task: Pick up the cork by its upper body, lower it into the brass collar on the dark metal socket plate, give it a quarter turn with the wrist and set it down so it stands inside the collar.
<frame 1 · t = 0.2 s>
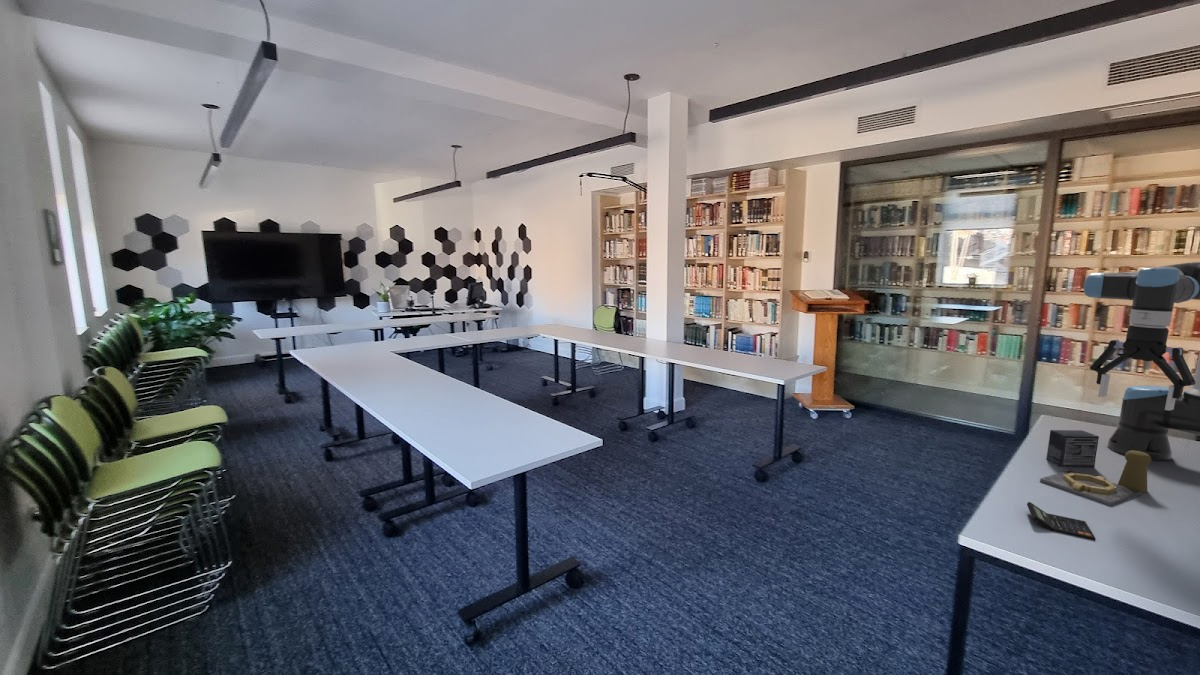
hand: (1134, 402, 140), 27 cm above the table, fingers open, 13 cm apart
socket: (1088, 488, 149), on the table
calculator: (1058, 526, 128), on the table
small box: (1069, 464, 166), on the table
cork: (1132, 488, 149), on the table
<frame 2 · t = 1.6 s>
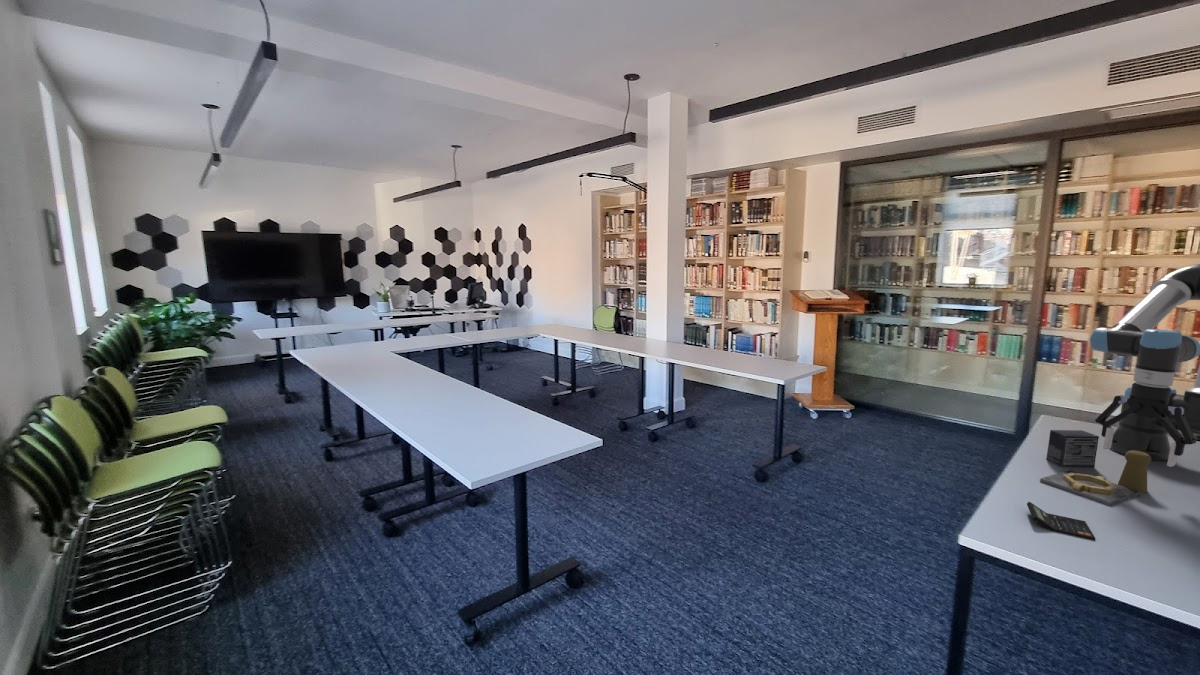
hand: (1137, 456, 147), 10 cm above the table, fingers open, 13 cm apart
nothing on the table moved.
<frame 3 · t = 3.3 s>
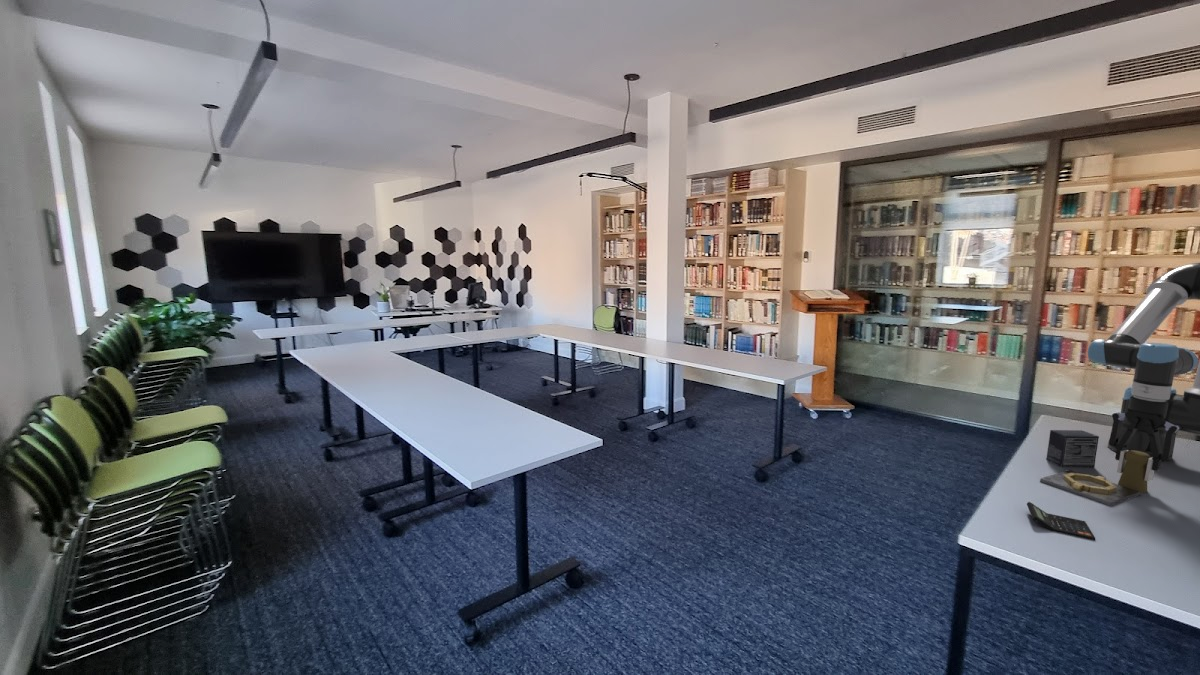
hand: (1134, 475, 148), 4 cm above the table, fingers closed on cork, 5 cm apart
cork: (1132, 488, 149), on the table, touching gripper
everything else where it was.
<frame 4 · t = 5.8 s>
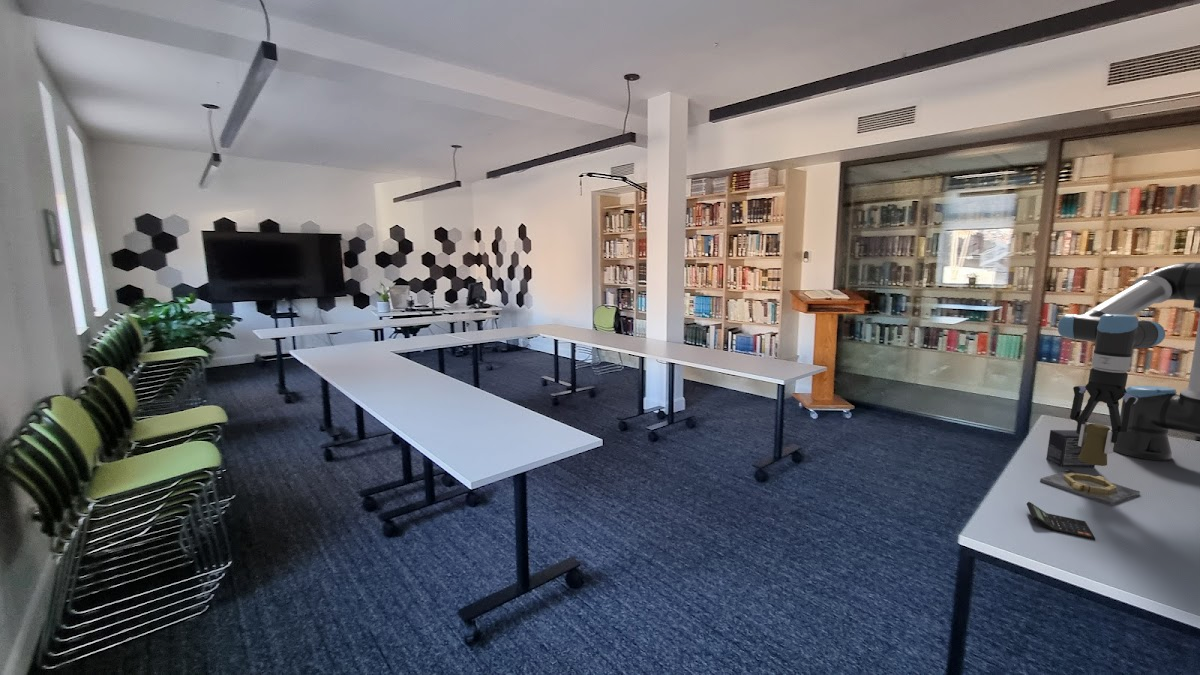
hand: (1094, 449, 147), 12 cm above the table, fingers closed on cork, 5 cm apart
cork: (1092, 462, 147), point 8 cm above the table, touching gripper
everything else where it was.
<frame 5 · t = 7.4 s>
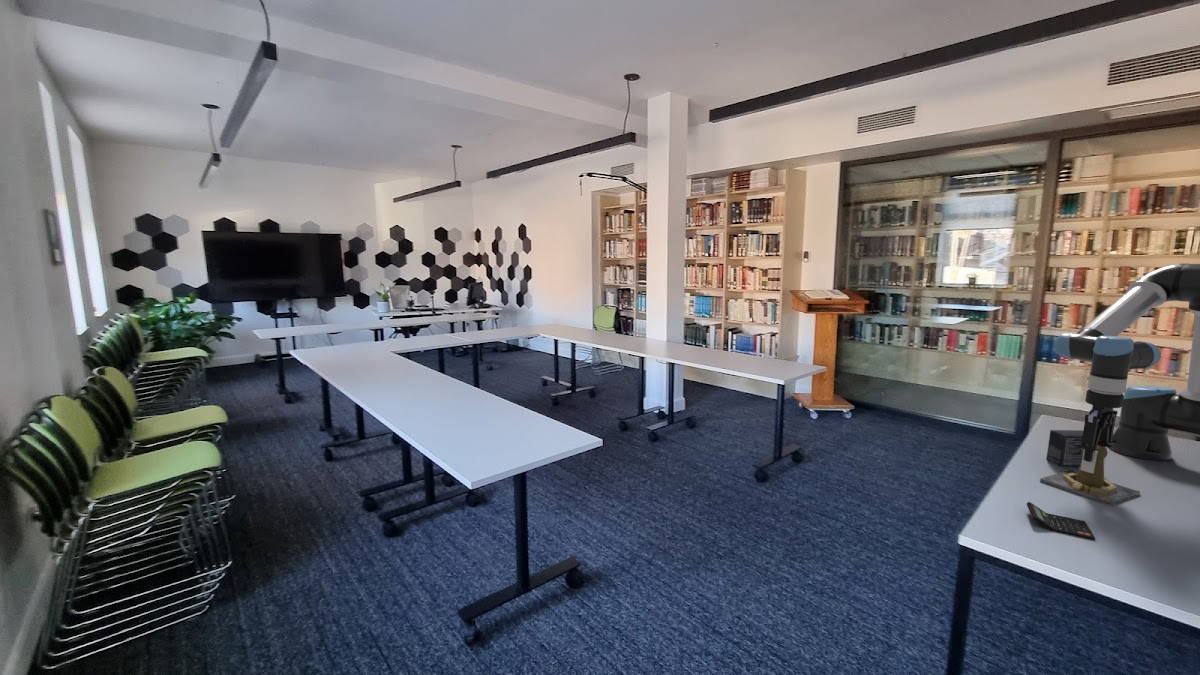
hand: (1091, 469, 148), 6 cm above the table, fingers closed on cork, 5 cm apart
cork: (1089, 482, 148), point 2 cm above the table, touching gripper
everything else where it was.
when the fingers open (5 cm above the table, at t = 8.7 s): cork stays where it is, resting on socket.
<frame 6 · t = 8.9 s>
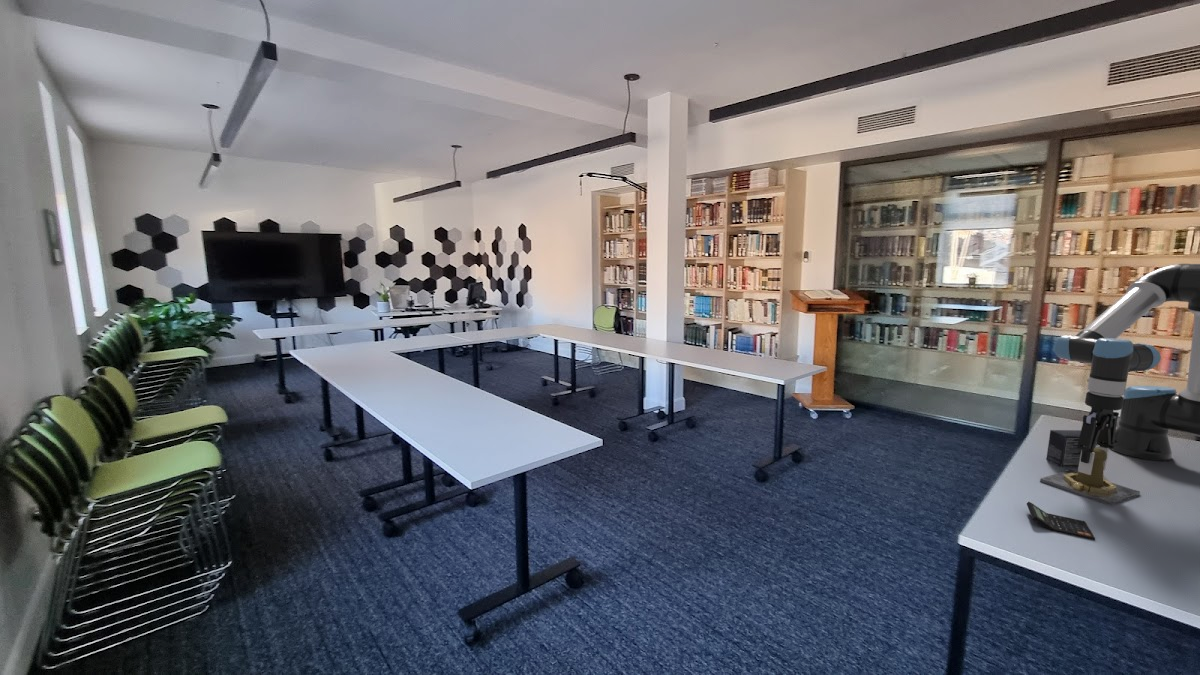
hand: (1091, 470, 148), 5 cm above the table, fingers open, 7 cm apart
cork: (1088, 485, 148), point 1 cm above the table, touching socket
everything else where it was.
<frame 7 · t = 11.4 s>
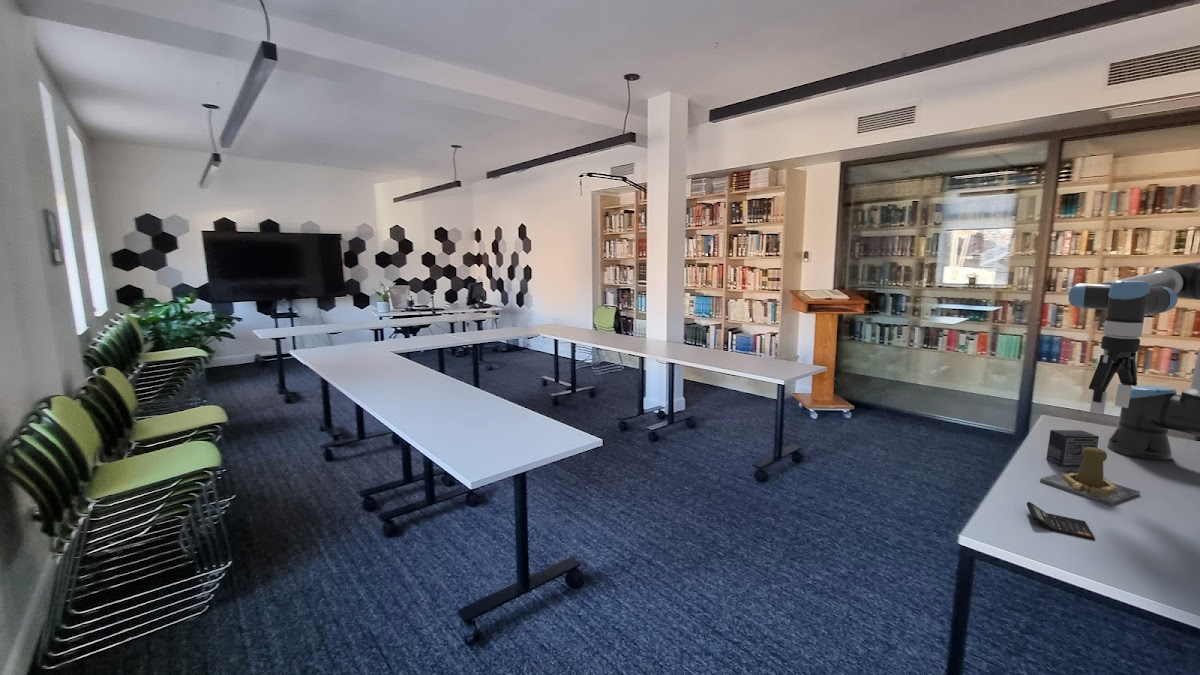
hand: (1109, 410, 146), 23 cm above the table, fingers open, 13 cm apart
nothing on the table moved.
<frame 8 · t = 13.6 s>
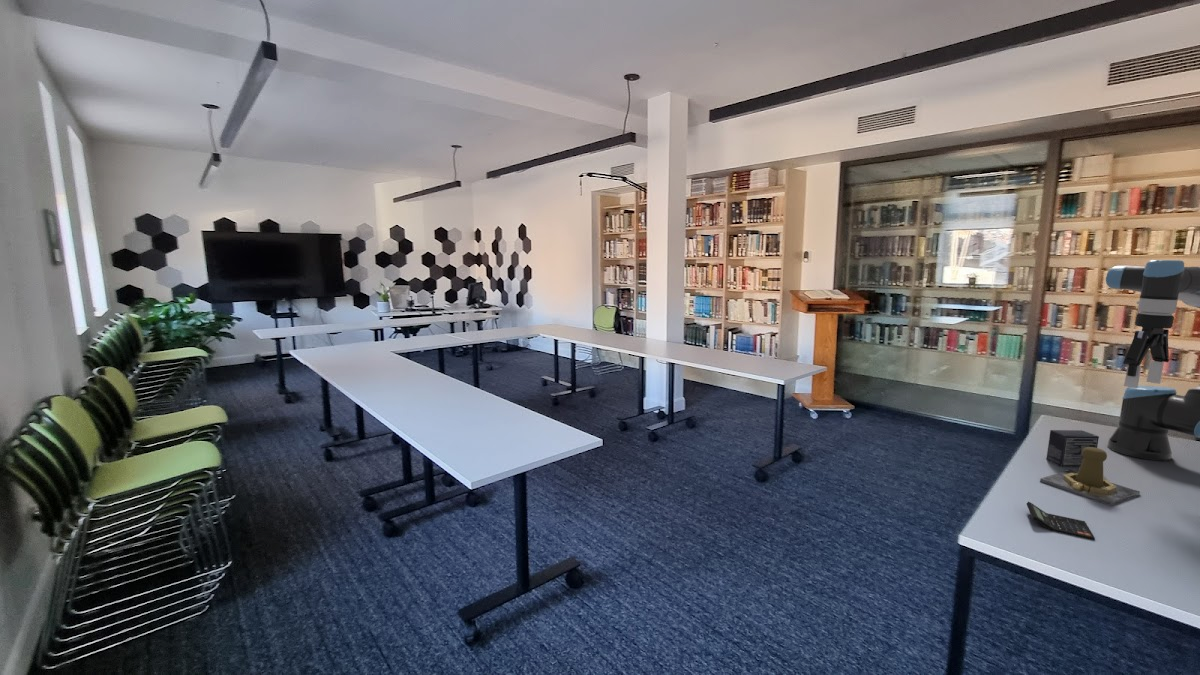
hand: (1142, 384, 152), 29 cm above the table, fingers open, 13 cm apart
nothing on the table moved.
at the end: cork 0.1 cm off-centre on the socket, point 0.8 cm above the socket's base; cork tilted 0°; the gripper is holding nothing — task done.
